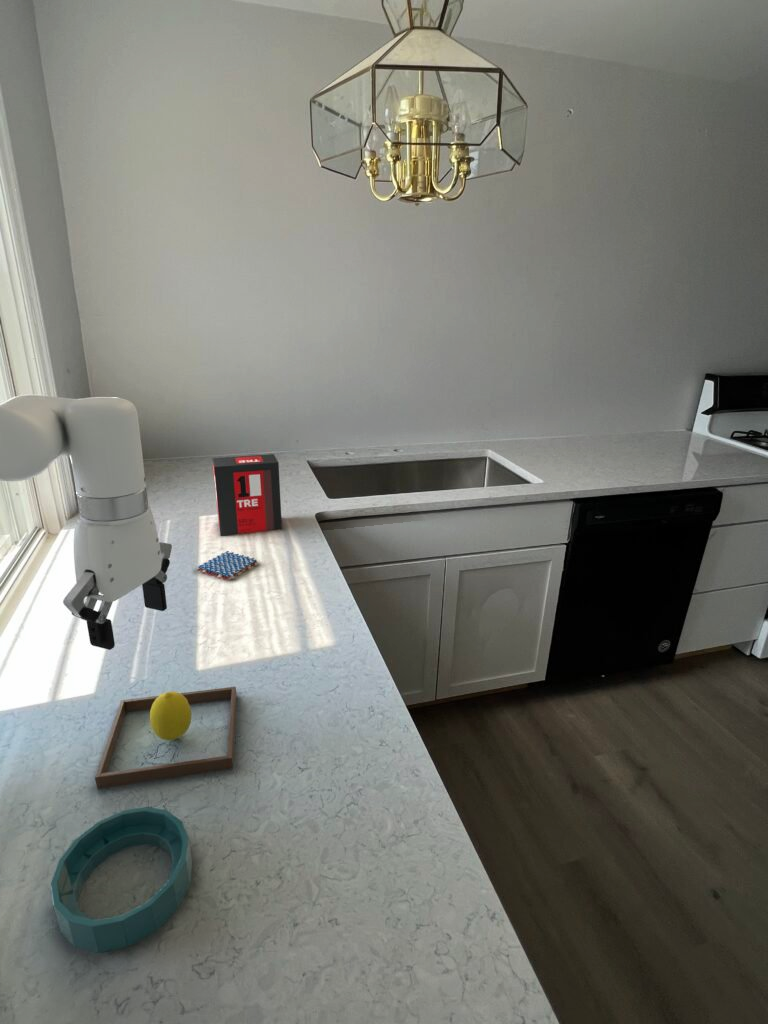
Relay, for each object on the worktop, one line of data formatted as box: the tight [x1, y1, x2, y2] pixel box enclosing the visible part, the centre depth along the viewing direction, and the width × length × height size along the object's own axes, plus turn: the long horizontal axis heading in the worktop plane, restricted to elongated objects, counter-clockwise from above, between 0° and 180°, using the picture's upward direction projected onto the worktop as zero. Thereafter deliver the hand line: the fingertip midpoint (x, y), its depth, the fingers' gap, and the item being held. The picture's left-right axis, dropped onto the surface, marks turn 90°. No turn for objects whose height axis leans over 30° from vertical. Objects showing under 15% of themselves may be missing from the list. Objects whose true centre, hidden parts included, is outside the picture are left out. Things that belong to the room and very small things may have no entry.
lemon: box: [149, 691, 192, 741], centre depth 80 cm, size 6×6×8 cm
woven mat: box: [196, 550, 258, 581], centre depth 132 cm, size 10×11×2 cm
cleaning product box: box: [212, 453, 283, 537], centre depth 153 cm, size 16×9×20 cm, turn 108°
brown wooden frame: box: [94, 686, 238, 790], centre depth 81 cm, size 17×15×2 cm
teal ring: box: [50, 806, 193, 954], centre depth 60 cm, size 13×13×4 cm
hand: (131, 626), depth 73 cm, fingers open, 9 cm apart
